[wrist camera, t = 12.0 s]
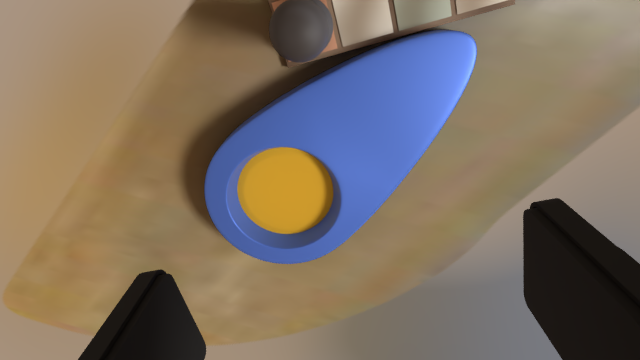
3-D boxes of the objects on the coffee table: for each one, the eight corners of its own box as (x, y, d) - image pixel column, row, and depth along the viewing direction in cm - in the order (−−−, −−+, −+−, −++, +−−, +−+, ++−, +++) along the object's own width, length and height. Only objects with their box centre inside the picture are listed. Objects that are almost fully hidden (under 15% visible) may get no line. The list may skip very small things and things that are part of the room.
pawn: (325, -12, 26) (324, -20, 19) (338, 47, 28) (342, 60, 20) (270, 5, 27) (248, 2, 19) (287, 61, 28) (272, 80, 21)
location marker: (407, -37, 27) (182, 179, 33) (419, -44, 24) (168, 196, 30) (504, 100, 31) (285, 268, 37) (525, 110, 28) (282, 291, 34)
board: (507, -76, 25) (511, -78, 24) (511, 4, 27) (515, 4, 26) (268, -3, 27) (266, -3, 27) (288, 67, 29) (287, 68, 29)
